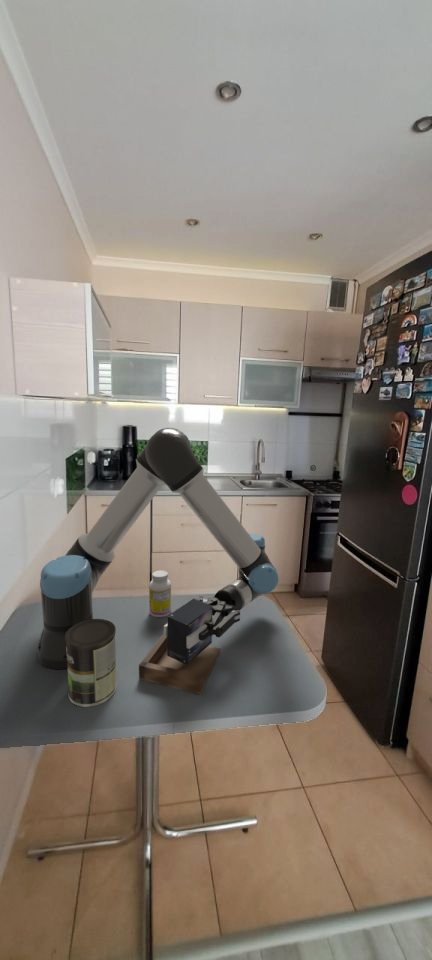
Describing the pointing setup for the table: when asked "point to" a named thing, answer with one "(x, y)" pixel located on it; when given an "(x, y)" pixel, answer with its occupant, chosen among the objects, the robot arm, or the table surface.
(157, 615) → the supplement bottle
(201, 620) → the small box
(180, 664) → the corner tray
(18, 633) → the table surface
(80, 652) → the coffee can
